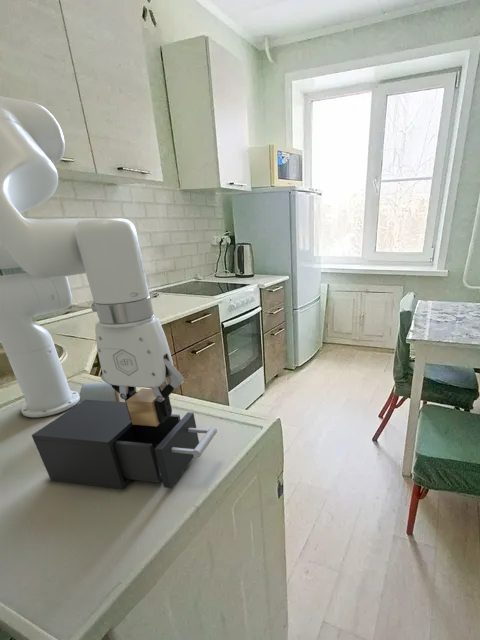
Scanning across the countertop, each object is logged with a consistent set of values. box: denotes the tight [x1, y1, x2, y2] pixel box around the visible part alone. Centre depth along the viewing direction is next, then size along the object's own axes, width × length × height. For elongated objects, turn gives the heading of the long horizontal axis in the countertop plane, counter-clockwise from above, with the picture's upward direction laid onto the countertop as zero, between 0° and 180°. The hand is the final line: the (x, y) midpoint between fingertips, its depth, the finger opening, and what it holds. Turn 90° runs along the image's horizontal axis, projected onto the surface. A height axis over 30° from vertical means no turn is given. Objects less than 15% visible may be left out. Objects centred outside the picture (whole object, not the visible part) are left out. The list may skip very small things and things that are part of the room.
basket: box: [112, 412, 218, 489], centre depth 62 cm, size 19×11×8 cm, turn 78°
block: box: [126, 388, 160, 427], centre depth 59 cm, size 4×4×4 cm
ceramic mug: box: [79, 381, 125, 403], centre depth 84 cm, size 11×8×8 cm
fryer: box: [31, 400, 133, 490], centre depth 64 cm, size 15×13×10 cm
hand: (151, 416), depth 60 cm, fingers closed on block, 4 cm apart
